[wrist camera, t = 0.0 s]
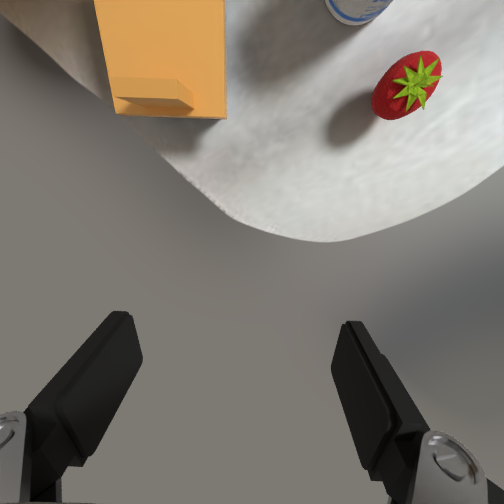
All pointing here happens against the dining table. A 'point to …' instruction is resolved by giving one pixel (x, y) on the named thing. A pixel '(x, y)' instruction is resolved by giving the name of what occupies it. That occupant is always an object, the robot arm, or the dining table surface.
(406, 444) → the robot arm
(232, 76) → the dining table surface
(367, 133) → the dining table surface
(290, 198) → the dining table surface
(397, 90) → the strawberry
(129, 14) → the lid
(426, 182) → the dining table surface
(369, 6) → the supplement tub
